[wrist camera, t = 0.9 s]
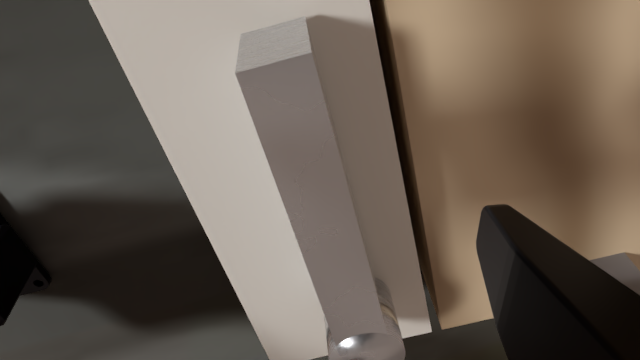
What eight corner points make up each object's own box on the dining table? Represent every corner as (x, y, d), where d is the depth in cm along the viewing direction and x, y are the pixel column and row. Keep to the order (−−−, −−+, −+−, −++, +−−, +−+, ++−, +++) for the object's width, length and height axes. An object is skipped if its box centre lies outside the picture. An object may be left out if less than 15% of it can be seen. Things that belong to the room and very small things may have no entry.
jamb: (273, 292, 29) (273, 367, 25) (79, -146, 17) (19, -138, 13) (408, 260, 29) (431, 332, 25) (311, -218, 16) (325, -234, 12)
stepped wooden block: (417, 258, 29) (464, 395, 22) (326, -223, 16) (368, -261, 9) (586, 218, 28) (690, 346, 21) (625, -315, 16) (910, -431, 9)
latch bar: (395, 313, 23) (410, 371, 21) (331, 328, 23) (338, 387, 21) (321, 11, 15) (330, 47, 13) (224, 38, 15) (215, 78, 13)
